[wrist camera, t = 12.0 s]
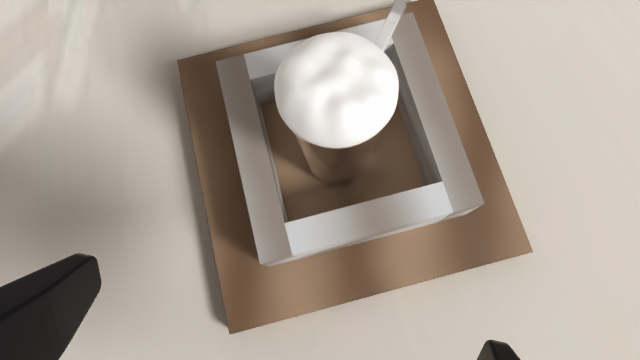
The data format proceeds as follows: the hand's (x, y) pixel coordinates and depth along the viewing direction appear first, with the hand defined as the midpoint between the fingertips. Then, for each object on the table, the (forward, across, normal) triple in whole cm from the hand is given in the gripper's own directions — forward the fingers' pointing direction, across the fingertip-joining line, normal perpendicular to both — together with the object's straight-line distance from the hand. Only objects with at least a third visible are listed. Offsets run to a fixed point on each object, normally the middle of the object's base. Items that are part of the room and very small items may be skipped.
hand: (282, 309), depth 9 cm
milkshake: (+14, 0, +3) cm, 15 cm away
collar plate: (+15, 0, +4) cm, 16 cm away
